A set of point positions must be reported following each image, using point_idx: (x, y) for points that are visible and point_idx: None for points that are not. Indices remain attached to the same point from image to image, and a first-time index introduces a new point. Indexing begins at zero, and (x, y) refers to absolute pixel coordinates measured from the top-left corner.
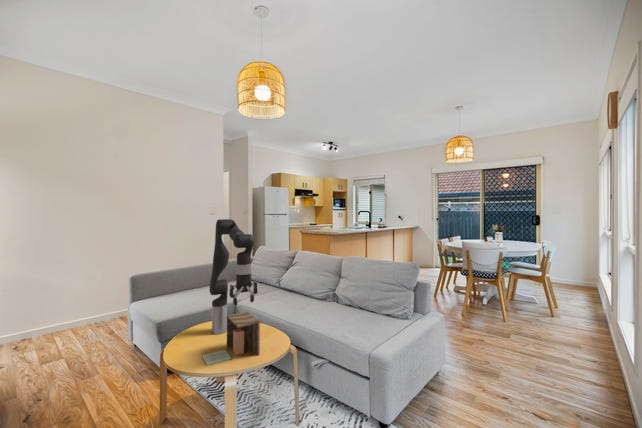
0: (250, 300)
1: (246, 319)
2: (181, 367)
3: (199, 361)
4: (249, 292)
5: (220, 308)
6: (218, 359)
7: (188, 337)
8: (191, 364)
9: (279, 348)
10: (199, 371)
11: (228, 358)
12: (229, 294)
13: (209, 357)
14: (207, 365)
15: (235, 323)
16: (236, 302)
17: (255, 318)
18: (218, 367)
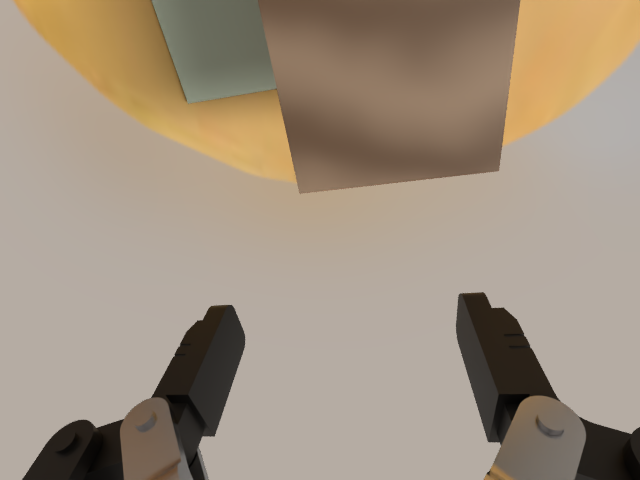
0: (464, 314)
1: (410, 59)
2: (77, 61)
3: (145, 31)
4: (494, 463)
5: None
6: (235, 74)
7: None
8: (114, 49)
9: (573, 68)
10: (167, 136)
11: None
12: (34, 473)
13: (187, 25)
14: (191, 102)
15: (288, 127)
16: (228, 375)
17: (506, 71)
18: (240, 137)
